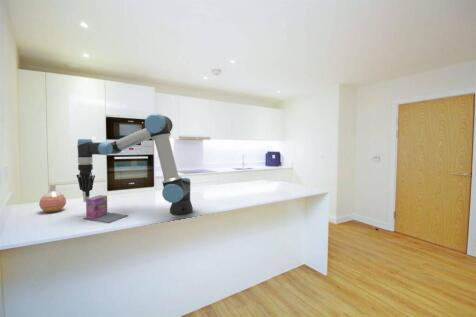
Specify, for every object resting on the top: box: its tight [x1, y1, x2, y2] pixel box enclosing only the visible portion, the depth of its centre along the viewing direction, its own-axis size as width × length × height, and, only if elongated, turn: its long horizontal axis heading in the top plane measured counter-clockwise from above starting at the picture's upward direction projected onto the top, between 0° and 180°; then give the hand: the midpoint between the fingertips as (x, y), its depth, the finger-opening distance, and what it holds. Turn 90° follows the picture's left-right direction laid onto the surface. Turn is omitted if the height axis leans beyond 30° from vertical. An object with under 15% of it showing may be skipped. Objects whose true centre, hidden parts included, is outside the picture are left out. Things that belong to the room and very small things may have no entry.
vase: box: [39, 184, 67, 213], centre depth 149 cm, size 14×14×18 cm
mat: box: [82, 211, 129, 224], centre depth 138 cm, size 20×14×1 cm
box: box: [85, 194, 108, 219], centre depth 139 cm, size 10×6×12 cm, turn 167°
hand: (86, 201), depth 142 cm, fingers closed
